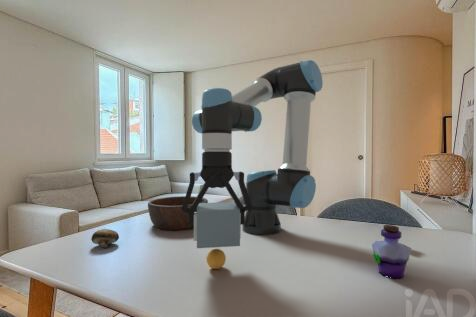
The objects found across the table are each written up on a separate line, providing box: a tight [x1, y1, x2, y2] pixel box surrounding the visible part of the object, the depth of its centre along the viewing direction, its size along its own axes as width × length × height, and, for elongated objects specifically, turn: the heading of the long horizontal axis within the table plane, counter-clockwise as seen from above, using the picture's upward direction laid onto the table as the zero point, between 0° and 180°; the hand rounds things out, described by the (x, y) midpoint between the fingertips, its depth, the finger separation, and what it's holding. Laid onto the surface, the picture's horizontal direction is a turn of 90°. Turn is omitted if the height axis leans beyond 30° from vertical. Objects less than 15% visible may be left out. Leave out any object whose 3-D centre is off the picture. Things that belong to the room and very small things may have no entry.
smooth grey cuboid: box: [196, 201, 241, 249], centre depth 68 cm, size 10×10×9 cm
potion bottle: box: [371, 224, 412, 280], centre depth 66 cm, size 9×9×12 cm
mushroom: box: [90, 228, 120, 249], centre depth 88 cm, size 8×8×6 cm
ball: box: [206, 248, 227, 270], centre depth 70 cm, size 5×5×5 cm
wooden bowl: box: [147, 195, 209, 231], centre depth 115 cm, size 25×25×10 cm
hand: (217, 238), depth 68 cm, fingers closed on smooth grey cuboid, 10 cm apart
